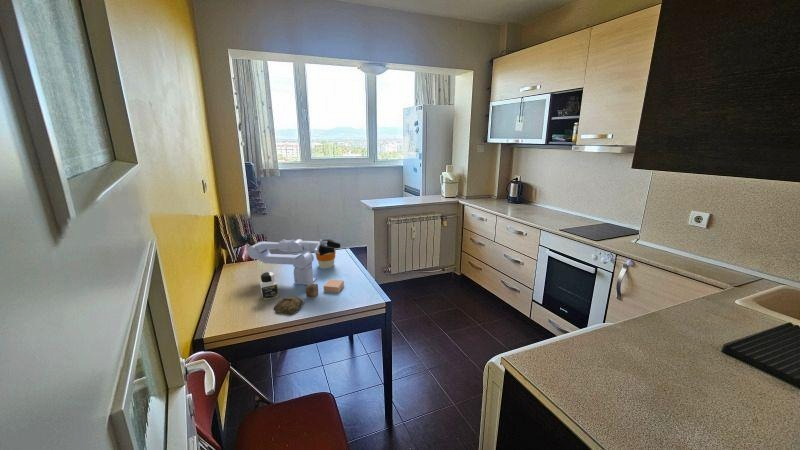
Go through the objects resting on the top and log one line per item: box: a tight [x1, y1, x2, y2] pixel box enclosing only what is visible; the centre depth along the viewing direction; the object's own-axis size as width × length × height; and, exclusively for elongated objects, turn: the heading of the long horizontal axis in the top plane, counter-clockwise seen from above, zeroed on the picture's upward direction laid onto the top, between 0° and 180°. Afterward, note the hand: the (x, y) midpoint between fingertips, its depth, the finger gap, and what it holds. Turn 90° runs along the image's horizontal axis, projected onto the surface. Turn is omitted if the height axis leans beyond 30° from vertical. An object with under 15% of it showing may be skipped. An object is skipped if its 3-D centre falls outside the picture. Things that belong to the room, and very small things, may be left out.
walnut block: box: [304, 282, 319, 299], centre depth 166 cm, size 4×4×6 cm
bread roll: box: [273, 296, 304, 316], centre depth 155 cm, size 13×12×5 cm
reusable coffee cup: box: [315, 238, 337, 269], centre depth 201 cm, size 12×13×15 cm
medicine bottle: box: [259, 271, 279, 301], centre depth 165 cm, size 7×7×12 cm
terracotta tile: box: [323, 279, 345, 294], centre depth 173 cm, size 8×8×3 cm
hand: (337, 247), depth 171 cm, fingers open, 7 cm apart
